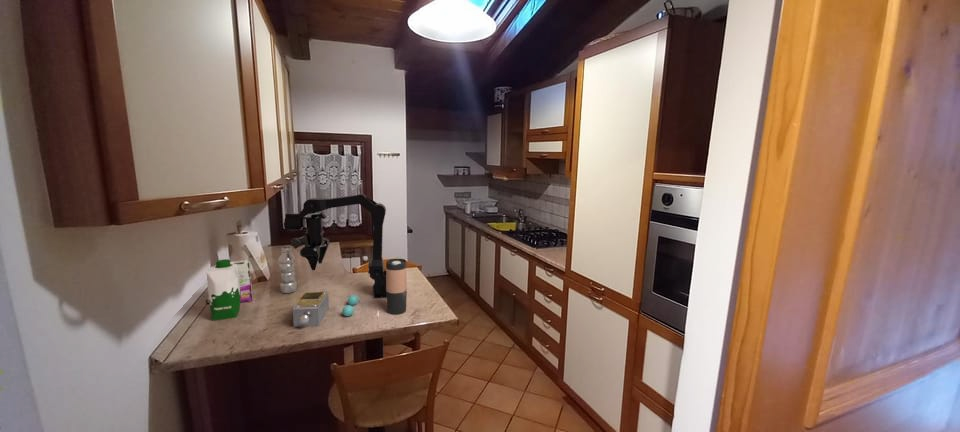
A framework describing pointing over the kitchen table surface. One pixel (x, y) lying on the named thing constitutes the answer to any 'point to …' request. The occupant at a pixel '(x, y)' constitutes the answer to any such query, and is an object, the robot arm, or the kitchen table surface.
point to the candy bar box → (244, 279)
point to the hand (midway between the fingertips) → (317, 266)
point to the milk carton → (223, 290)
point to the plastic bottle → (287, 270)
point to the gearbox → (310, 309)
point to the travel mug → (396, 286)
